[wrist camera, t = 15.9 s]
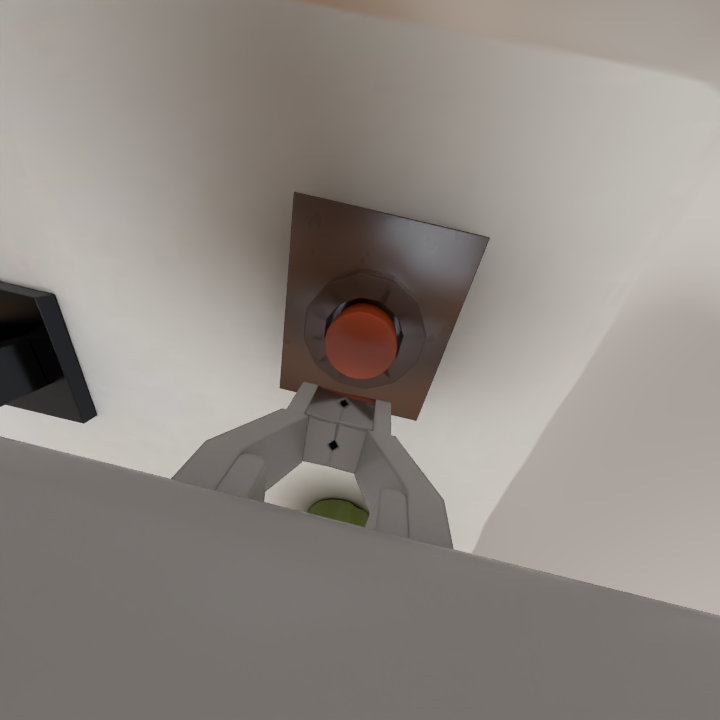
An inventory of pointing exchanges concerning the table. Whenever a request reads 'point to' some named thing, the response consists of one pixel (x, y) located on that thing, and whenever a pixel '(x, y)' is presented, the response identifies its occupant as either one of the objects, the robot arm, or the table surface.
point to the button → (361, 341)
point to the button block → (373, 294)
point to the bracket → (39, 357)
